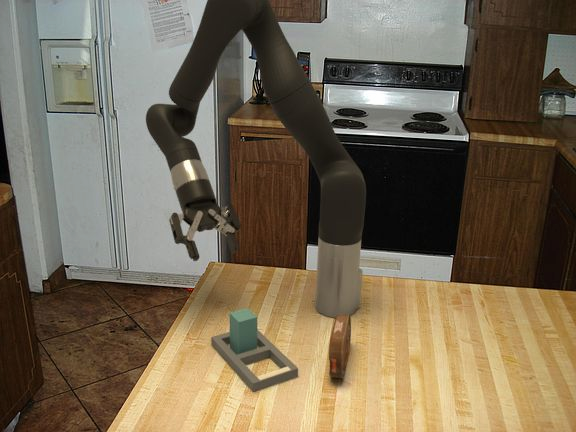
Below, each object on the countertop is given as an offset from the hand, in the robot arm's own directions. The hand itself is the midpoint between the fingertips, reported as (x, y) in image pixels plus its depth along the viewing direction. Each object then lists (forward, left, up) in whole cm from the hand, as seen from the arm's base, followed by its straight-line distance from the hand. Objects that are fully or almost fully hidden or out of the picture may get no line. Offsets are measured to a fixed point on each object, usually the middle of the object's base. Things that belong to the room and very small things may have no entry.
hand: (216, 255), depth 129 cm
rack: (0, +16, -16) cm, 22 cm away
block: (0, +12, -16) cm, 20 cm away
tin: (-14, +25, -16) cm, 33 cm away
